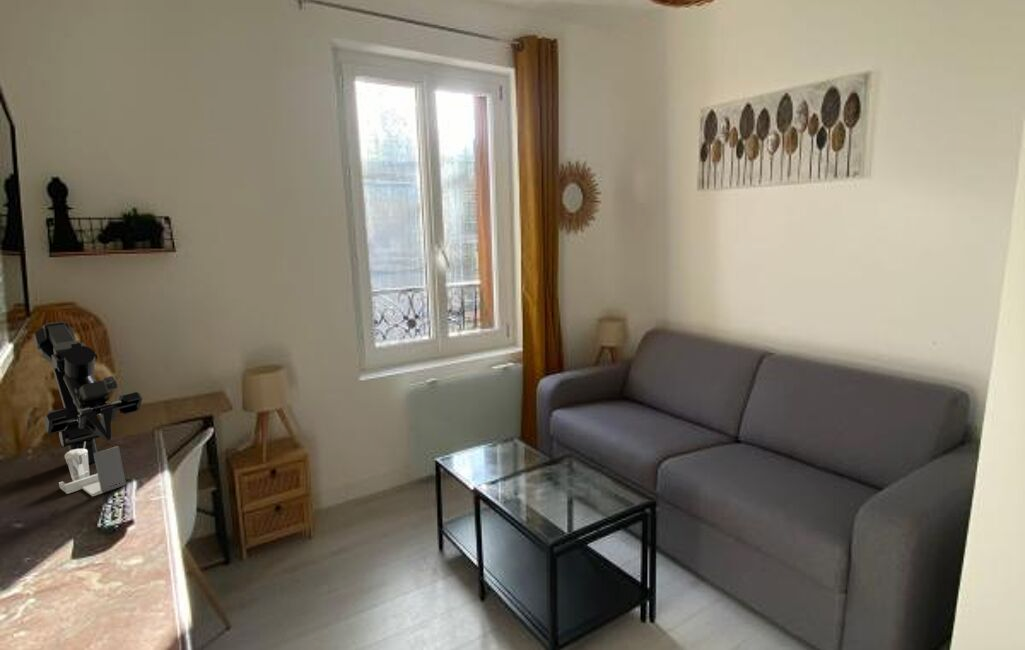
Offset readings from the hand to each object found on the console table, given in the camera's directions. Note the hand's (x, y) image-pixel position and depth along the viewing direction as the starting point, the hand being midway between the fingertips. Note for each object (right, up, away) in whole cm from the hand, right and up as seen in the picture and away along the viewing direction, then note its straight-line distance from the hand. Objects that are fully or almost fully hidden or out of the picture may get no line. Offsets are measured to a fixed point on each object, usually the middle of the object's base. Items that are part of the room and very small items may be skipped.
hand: (108, 439), depth 131 cm
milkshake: (-13, -13, +9) cm, 20 cm away
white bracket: (-9, -13, +6) cm, 17 cm away
